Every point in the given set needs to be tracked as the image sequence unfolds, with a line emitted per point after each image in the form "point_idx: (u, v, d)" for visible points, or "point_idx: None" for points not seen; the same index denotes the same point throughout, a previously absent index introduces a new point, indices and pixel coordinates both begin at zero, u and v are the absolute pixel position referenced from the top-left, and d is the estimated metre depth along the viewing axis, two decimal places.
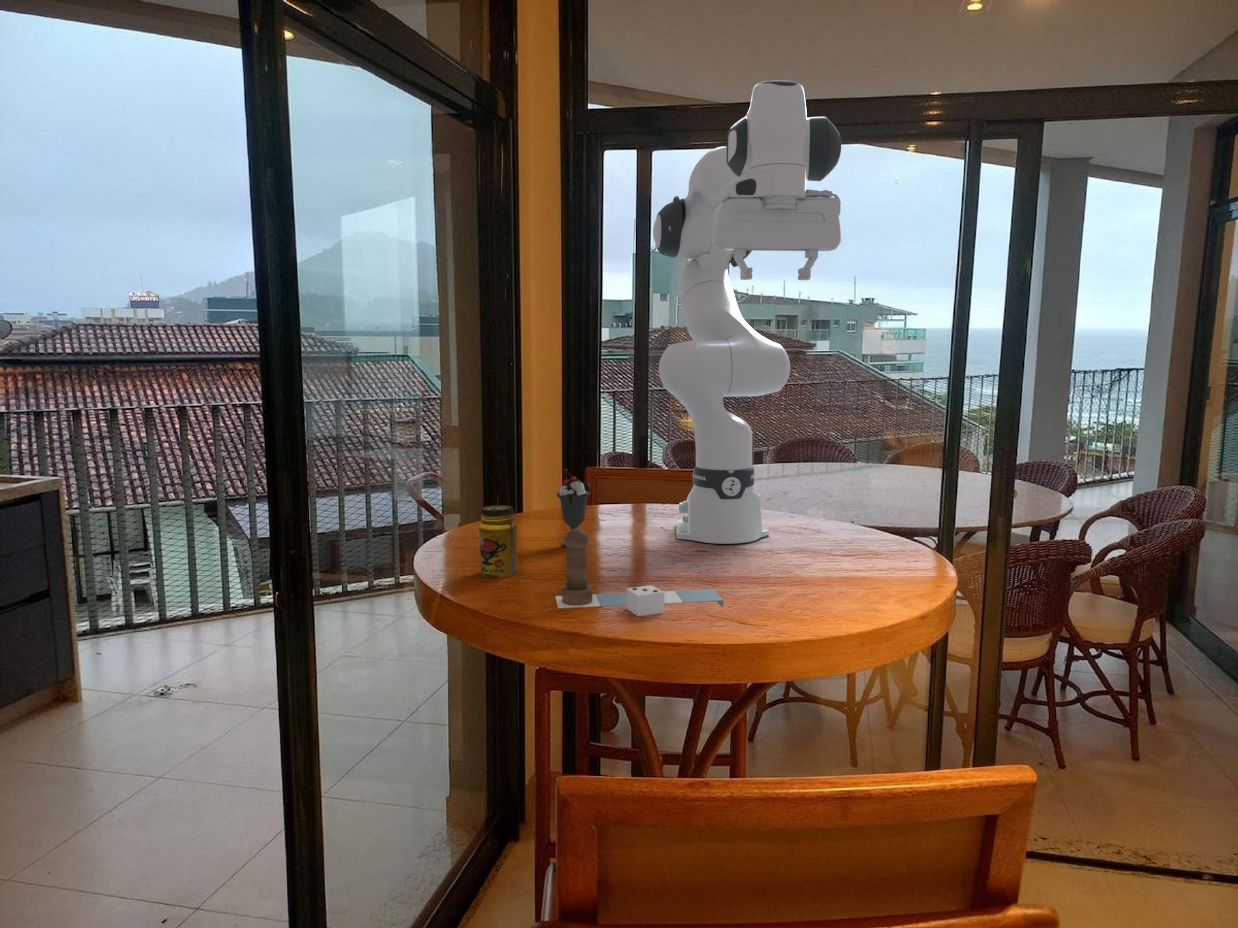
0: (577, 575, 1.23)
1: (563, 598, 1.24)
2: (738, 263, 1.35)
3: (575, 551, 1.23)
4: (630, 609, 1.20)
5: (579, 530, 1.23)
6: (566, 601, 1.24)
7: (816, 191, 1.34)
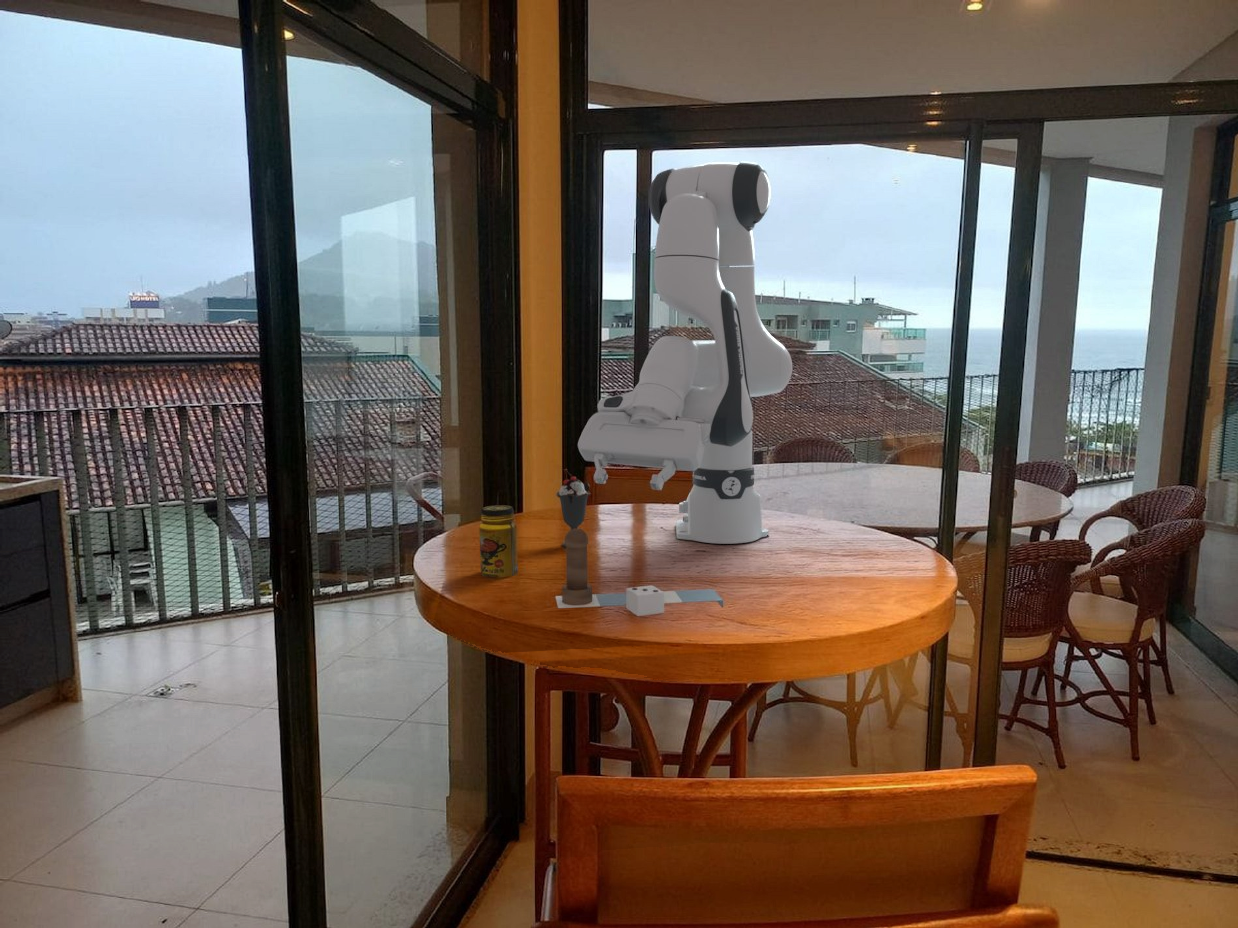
0: (577, 575, 1.23)
1: (563, 598, 1.24)
2: None
3: (575, 551, 1.23)
4: (630, 609, 1.20)
5: (579, 530, 1.23)
6: (566, 601, 1.24)
7: (688, 417, 1.36)
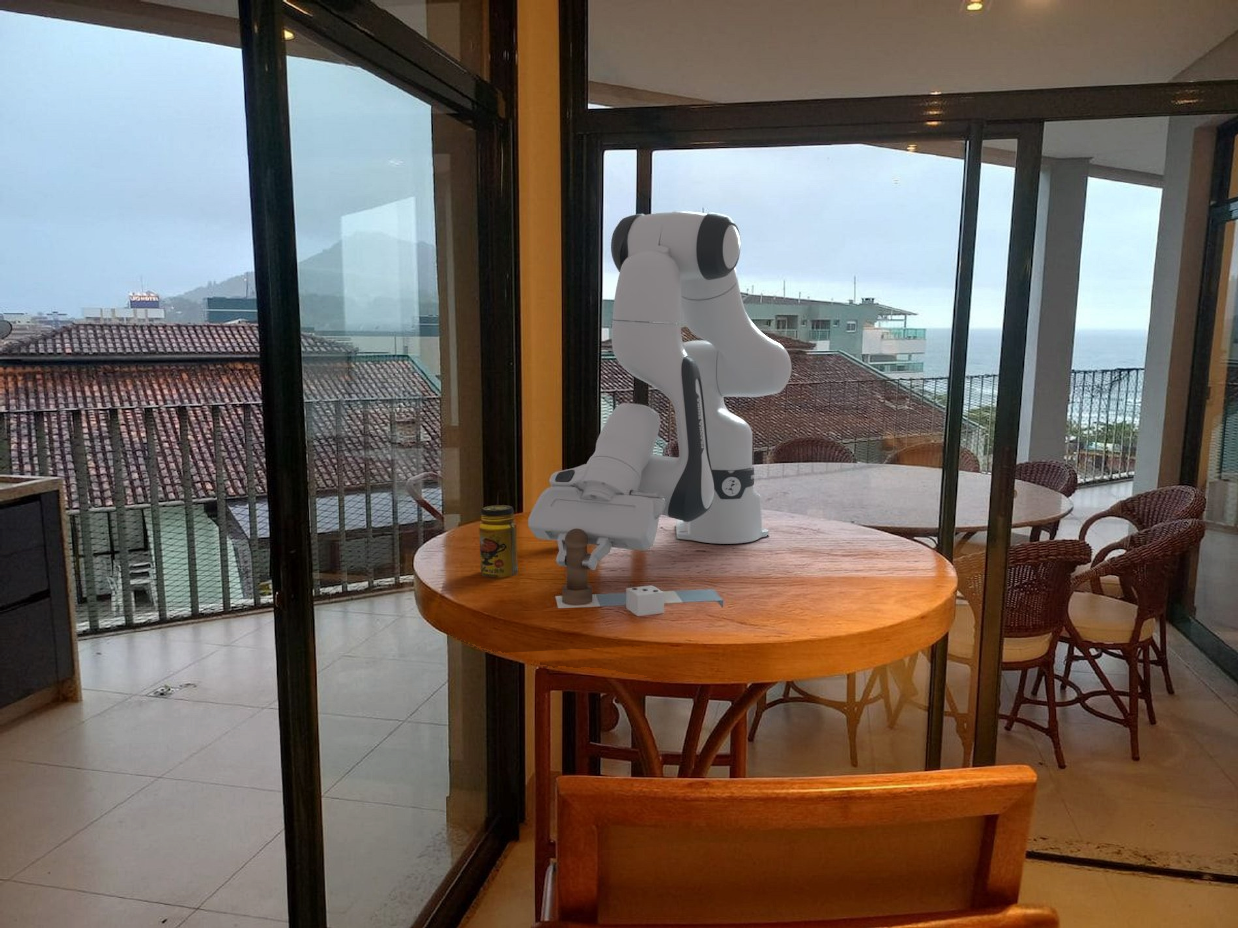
0: (577, 575, 1.23)
1: (563, 598, 1.24)
2: None
3: (575, 551, 1.23)
4: (630, 609, 1.20)
5: (579, 530, 1.23)
6: (566, 601, 1.24)
7: (642, 492, 1.28)
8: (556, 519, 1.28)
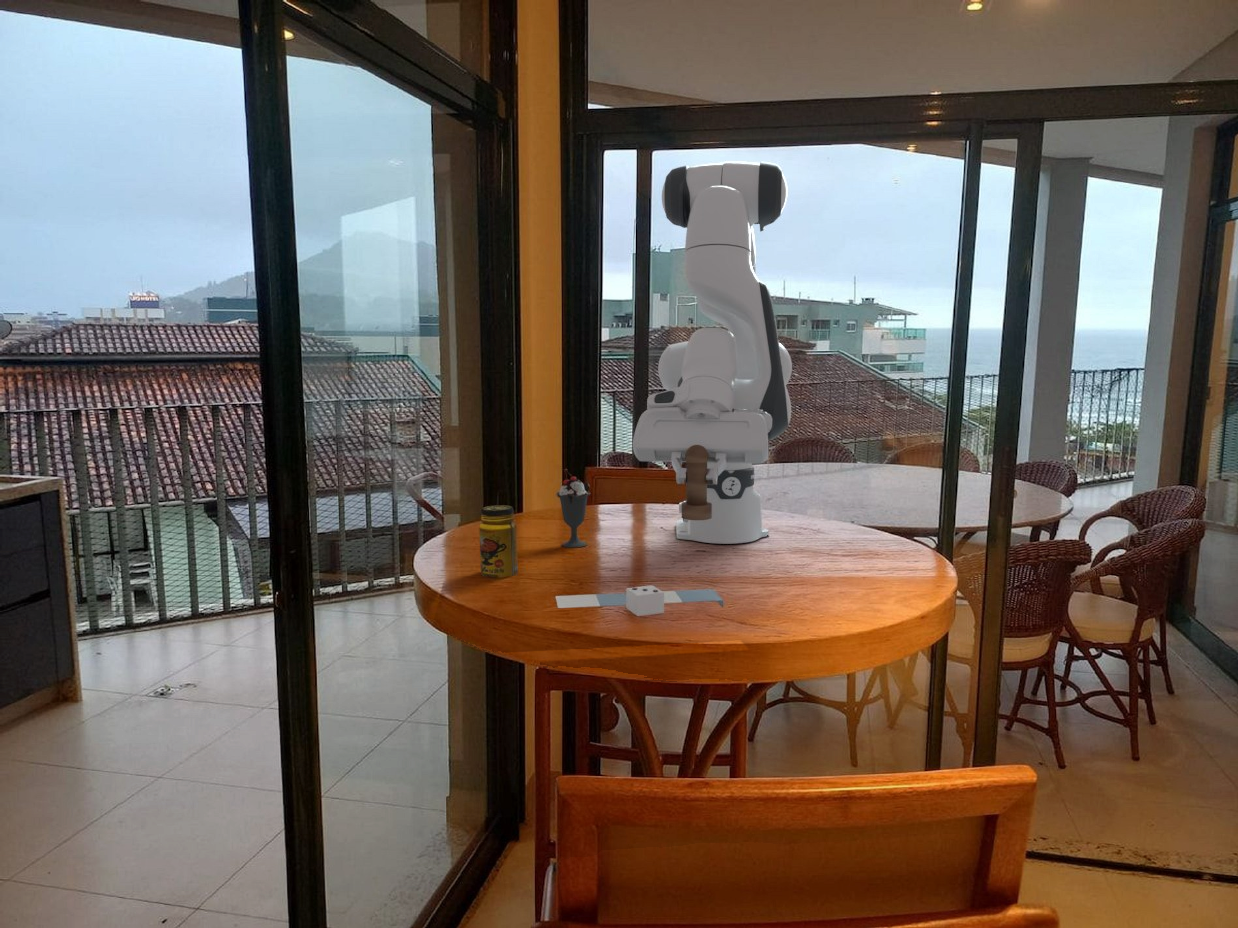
0: (701, 490, 1.24)
1: (686, 514, 1.25)
2: (674, 467, 1.27)
3: (699, 466, 1.24)
4: (630, 609, 1.20)
5: (701, 446, 1.24)
6: (690, 517, 1.24)
7: (745, 409, 1.31)
8: (665, 439, 1.28)
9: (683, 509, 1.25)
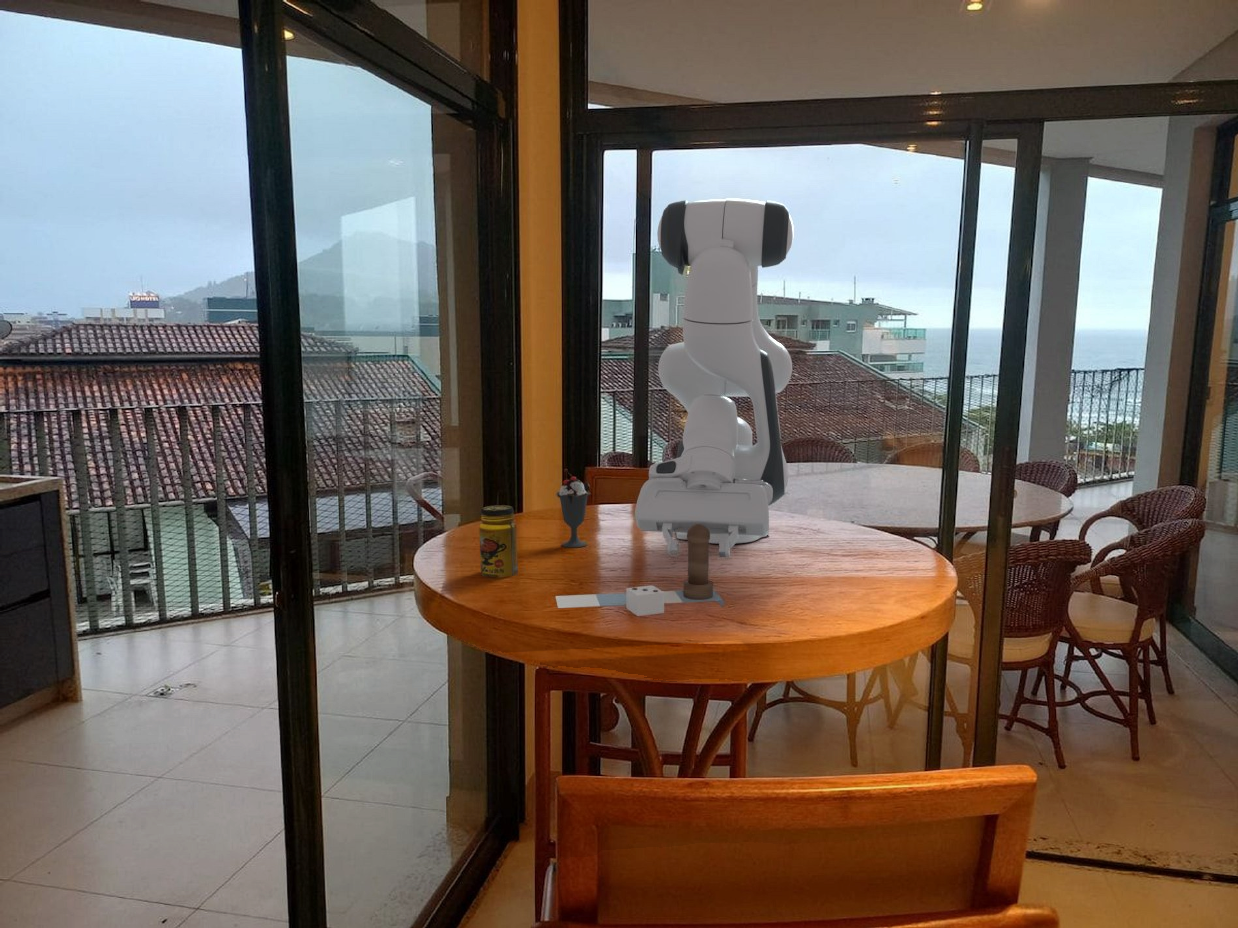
0: (703, 570, 1.26)
1: (688, 593, 1.26)
2: (665, 539, 1.29)
3: (701, 546, 1.25)
4: (630, 609, 1.20)
5: (702, 526, 1.26)
6: (692, 596, 1.26)
7: (746, 479, 1.32)
8: (667, 510, 1.30)
9: (685, 588, 1.26)
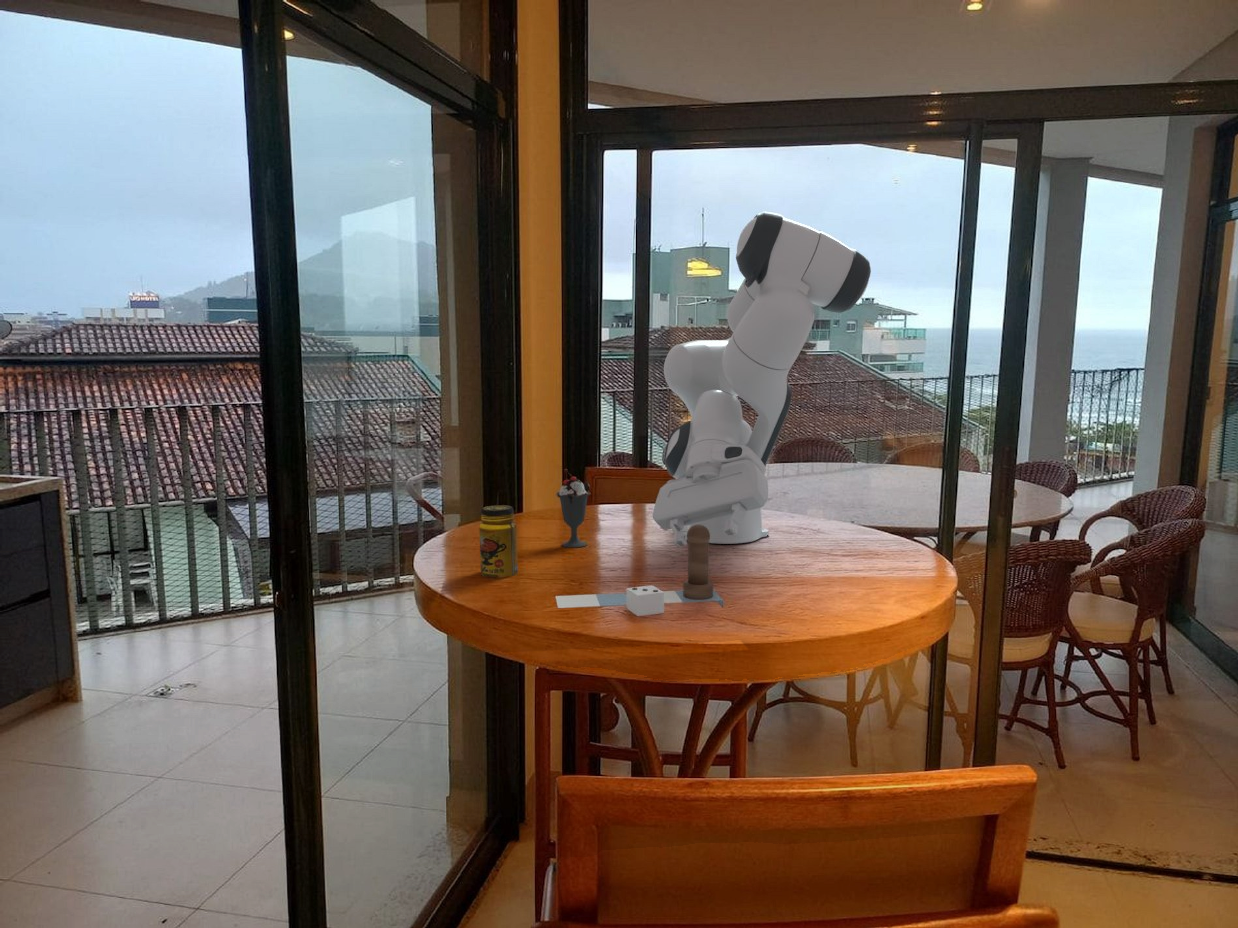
0: (703, 570, 1.26)
1: (688, 593, 1.26)
2: (738, 517, 1.36)
3: (701, 546, 1.25)
4: (630, 609, 1.20)
5: (702, 526, 1.26)
6: (692, 596, 1.26)
7: None
8: None
9: (685, 588, 1.26)
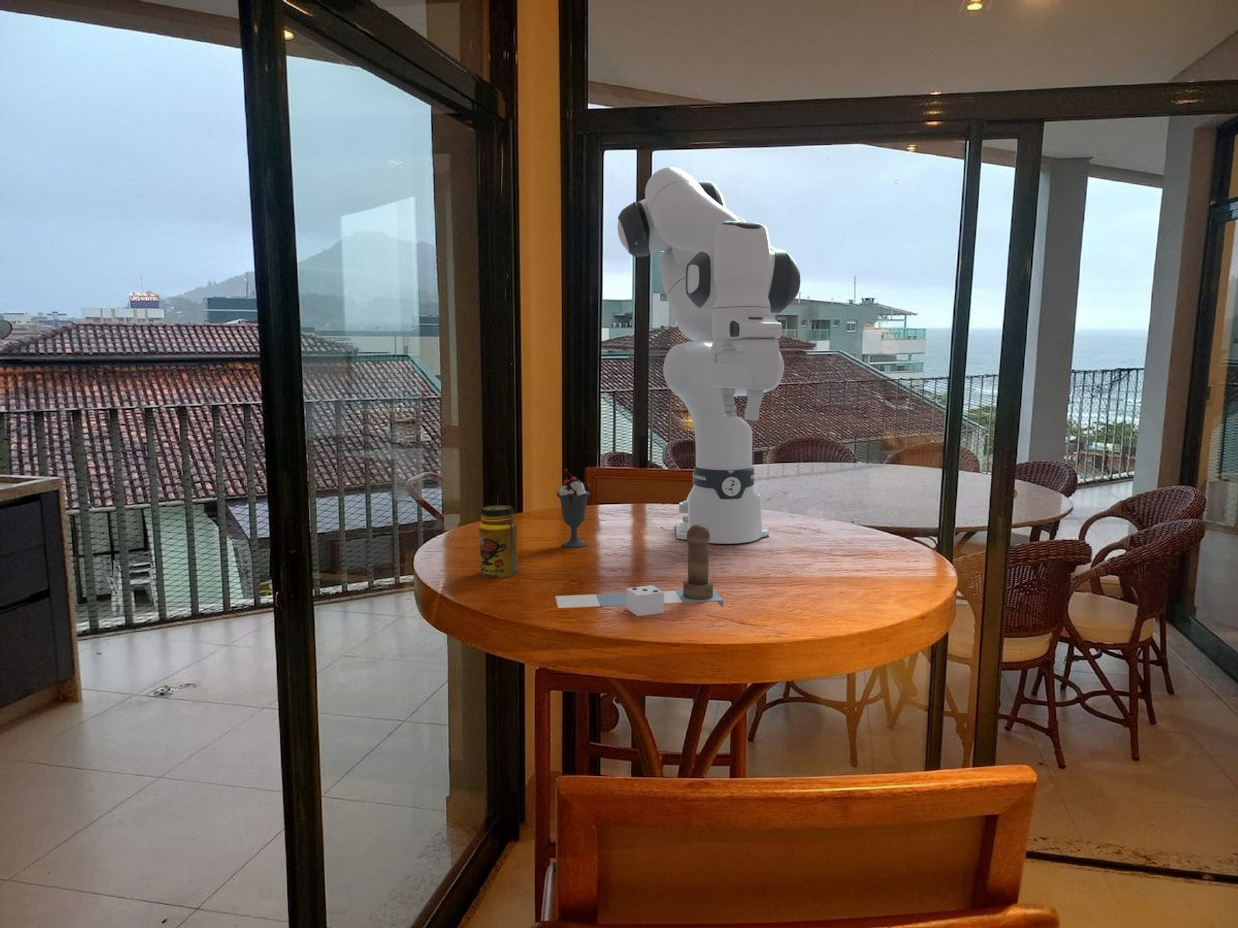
0: (703, 570, 1.26)
1: (688, 593, 1.26)
2: (754, 403, 1.27)
3: (701, 546, 1.25)
4: (630, 609, 1.20)
5: (702, 526, 1.26)
6: (692, 596, 1.26)
7: None
8: None
9: (685, 588, 1.26)
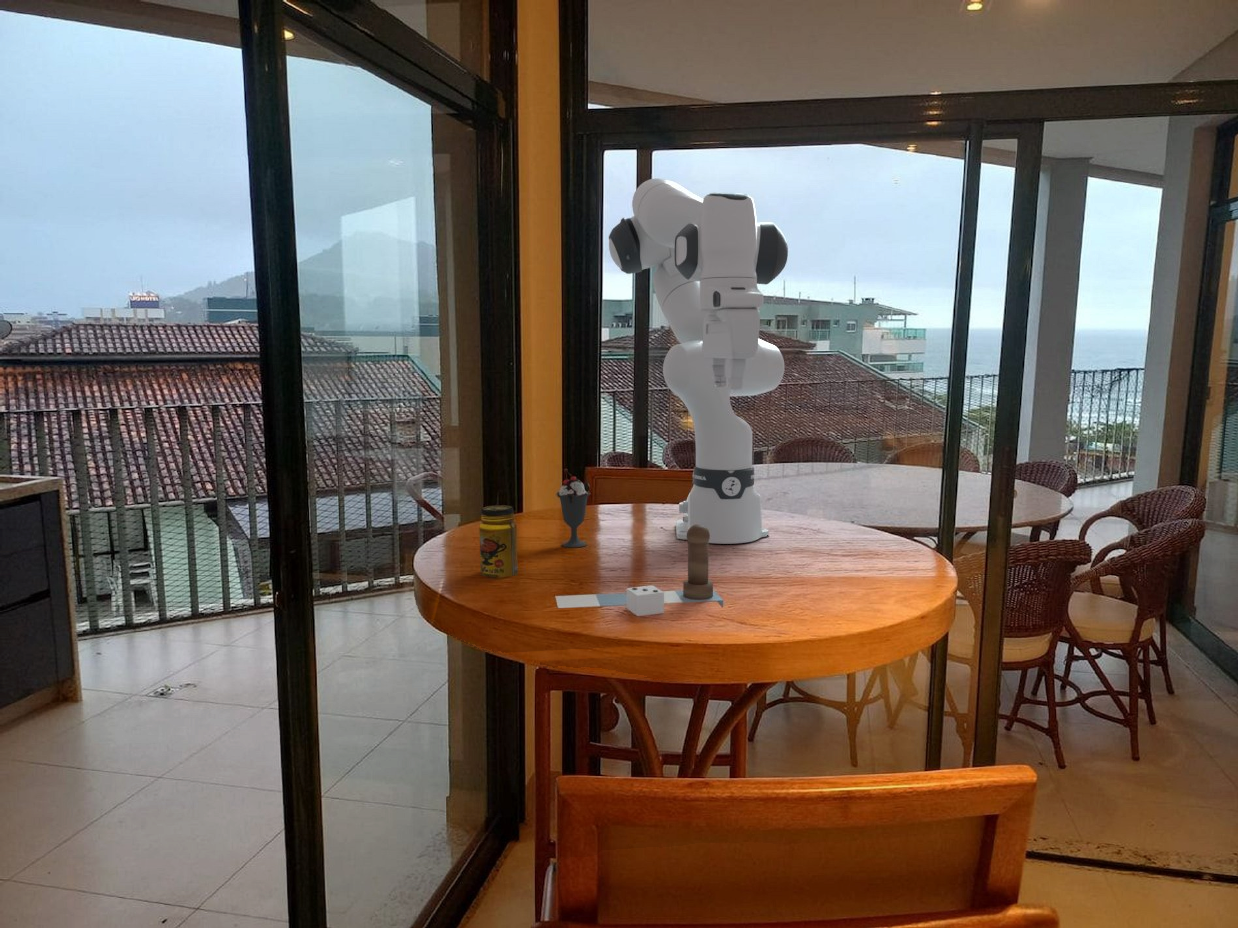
0: (703, 570, 1.26)
1: (688, 593, 1.26)
2: (736, 373, 1.29)
3: (701, 546, 1.25)
4: (630, 609, 1.20)
5: (702, 526, 1.26)
6: (692, 596, 1.26)
7: None
8: None
9: (685, 588, 1.26)
